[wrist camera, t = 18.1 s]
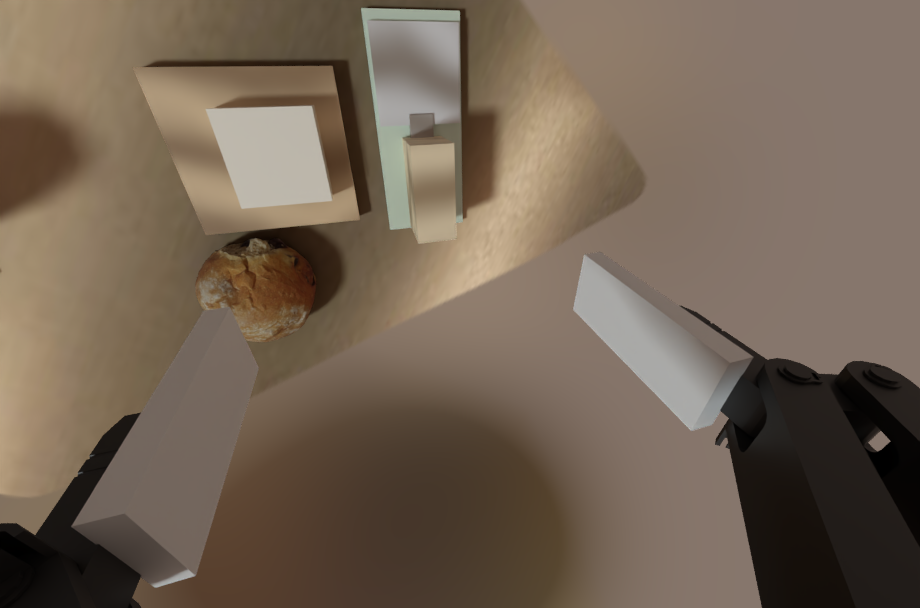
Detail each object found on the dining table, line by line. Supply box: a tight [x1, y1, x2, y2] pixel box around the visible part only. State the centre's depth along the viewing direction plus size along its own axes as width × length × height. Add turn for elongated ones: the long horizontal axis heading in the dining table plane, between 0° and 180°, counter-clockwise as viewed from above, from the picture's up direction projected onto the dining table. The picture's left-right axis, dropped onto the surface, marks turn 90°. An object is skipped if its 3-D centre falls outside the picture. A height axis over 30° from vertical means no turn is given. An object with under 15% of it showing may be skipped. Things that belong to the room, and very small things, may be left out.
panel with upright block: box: [367, 20, 460, 244], centre depth 29 cm, size 16×7×5 cm, turn 1°
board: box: [133, 66, 360, 235], centre depth 28 cm, size 12×13×1 cm
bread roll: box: [195, 238, 316, 342], centre depth 33 cm, size 10×10×8 cm
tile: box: [206, 105, 333, 209], centre depth 27 cm, size 7×2×7 cm
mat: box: [361, 8, 463, 230], centre depth 31 cm, size 17×8×1 cm, turn 1°
